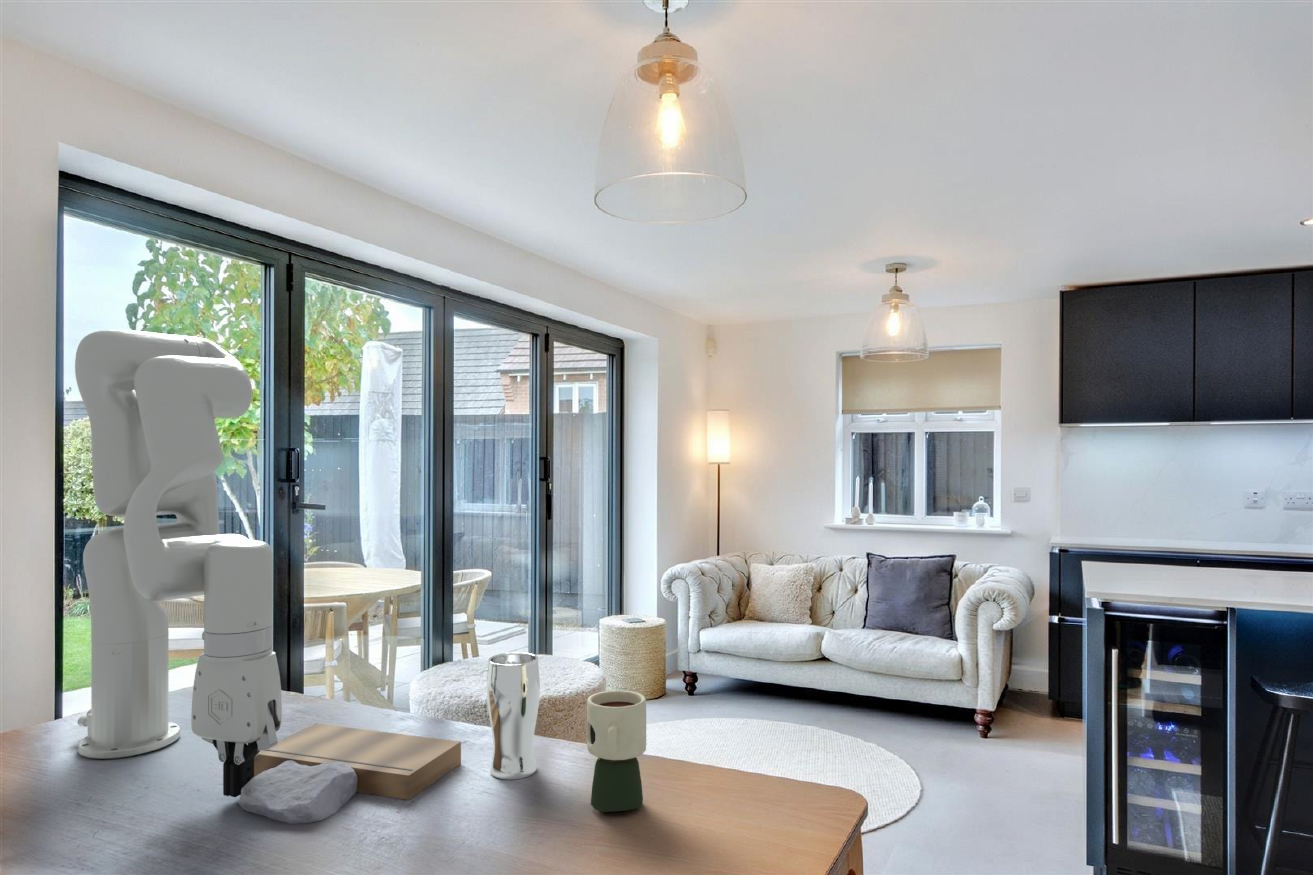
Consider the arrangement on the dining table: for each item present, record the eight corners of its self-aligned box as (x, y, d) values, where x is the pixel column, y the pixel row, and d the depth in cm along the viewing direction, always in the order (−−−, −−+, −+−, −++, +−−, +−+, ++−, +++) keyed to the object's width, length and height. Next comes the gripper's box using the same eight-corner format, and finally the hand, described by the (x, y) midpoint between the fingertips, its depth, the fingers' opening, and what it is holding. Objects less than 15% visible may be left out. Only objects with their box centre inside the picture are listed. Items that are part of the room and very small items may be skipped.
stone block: (320, 841, 95) (365, 788, 104) (313, 804, 94) (359, 754, 104) (228, 836, 97) (280, 785, 107) (221, 800, 96) (274, 751, 106)
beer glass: (548, 764, 112) (548, 653, 113) (524, 784, 106) (524, 667, 106) (503, 757, 115) (503, 649, 115) (476, 777, 108) (476, 662, 108)
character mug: (593, 787, 105) (593, 684, 105) (649, 788, 105) (649, 685, 105) (580, 827, 94) (580, 712, 94) (643, 828, 94) (642, 713, 94)
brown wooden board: (252, 775, 109) (252, 752, 109) (316, 744, 120) (316, 722, 120) (408, 799, 101) (408, 774, 101) (460, 763, 113) (460, 740, 113)
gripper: (165, 644, 100) (165, 796, 100) (264, 654, 95) (264, 813, 95) (216, 631, 107) (216, 772, 107) (310, 639, 103) (310, 787, 102)
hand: (238, 791), depth 101 cm, fingers closed
